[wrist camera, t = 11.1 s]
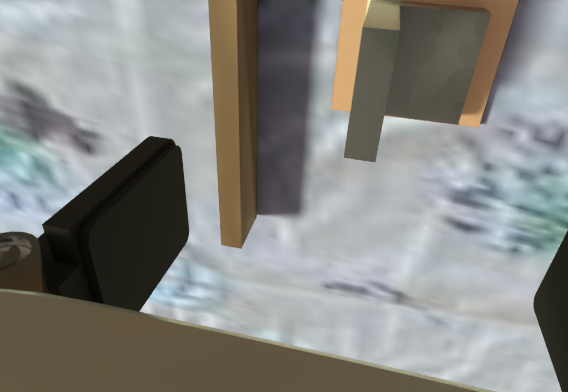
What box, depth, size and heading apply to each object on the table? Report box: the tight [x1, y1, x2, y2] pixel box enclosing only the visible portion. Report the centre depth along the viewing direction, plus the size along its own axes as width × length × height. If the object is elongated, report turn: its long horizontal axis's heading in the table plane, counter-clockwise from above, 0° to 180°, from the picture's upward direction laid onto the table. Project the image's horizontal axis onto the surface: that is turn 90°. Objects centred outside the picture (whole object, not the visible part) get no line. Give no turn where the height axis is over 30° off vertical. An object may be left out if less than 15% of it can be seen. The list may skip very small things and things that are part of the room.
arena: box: [208, 0, 258, 248], centre depth 24 cm, size 26×23×4 cm
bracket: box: [344, 0, 491, 162], centre depth 22 cm, size 6×6×8 cm
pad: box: [331, 0, 519, 127], centre depth 24 cm, size 9×9×1 cm
